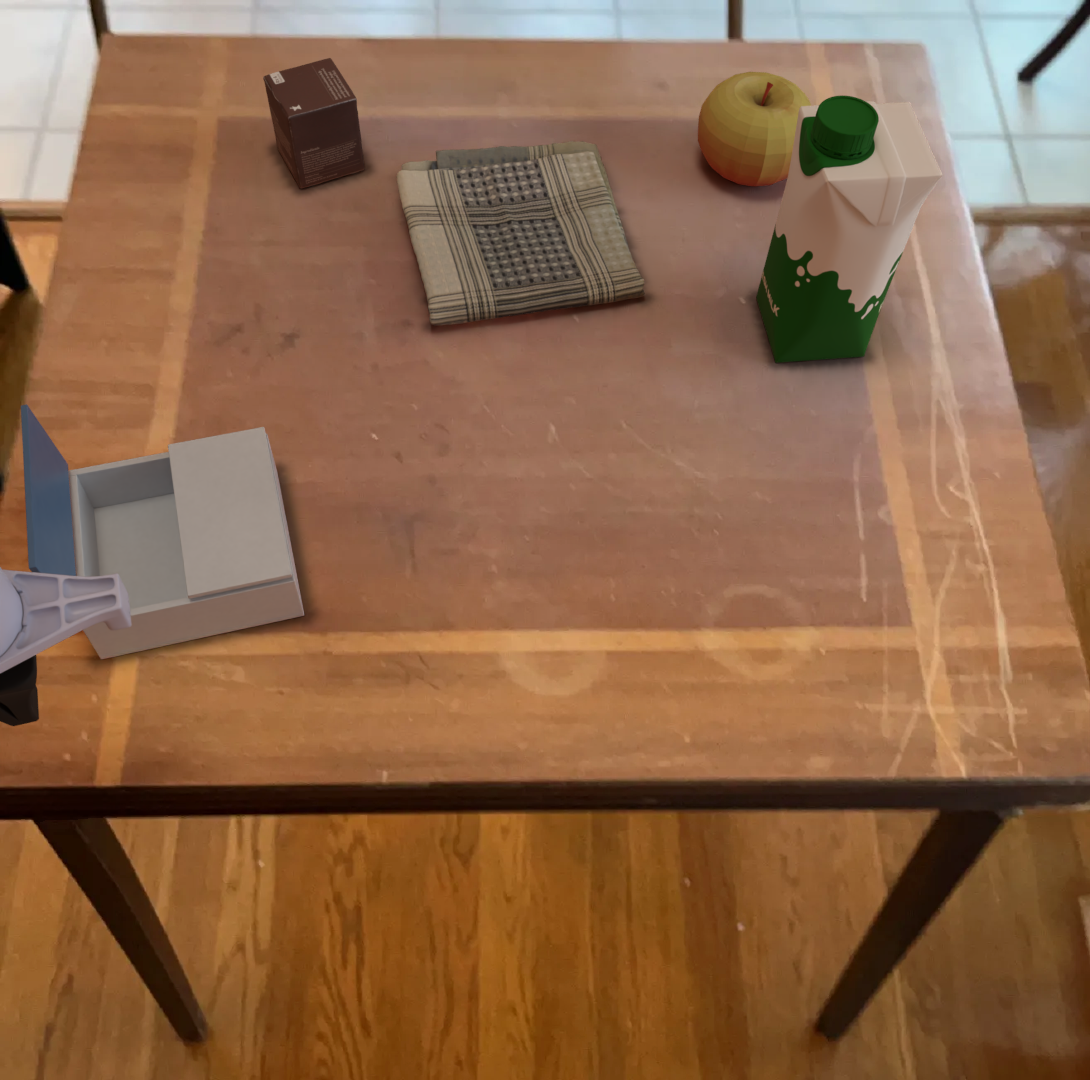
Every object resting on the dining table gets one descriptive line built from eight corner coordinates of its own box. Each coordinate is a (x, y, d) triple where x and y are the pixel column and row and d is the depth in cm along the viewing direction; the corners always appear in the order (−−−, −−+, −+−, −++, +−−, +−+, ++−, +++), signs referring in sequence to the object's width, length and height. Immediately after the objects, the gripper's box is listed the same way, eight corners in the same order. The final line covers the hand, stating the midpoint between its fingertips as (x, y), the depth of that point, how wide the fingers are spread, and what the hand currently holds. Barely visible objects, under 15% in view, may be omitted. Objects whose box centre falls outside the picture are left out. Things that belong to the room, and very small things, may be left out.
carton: (100, 659, 75) (76, 619, 70) (88, 508, 81) (64, 462, 76) (304, 616, 77) (293, 574, 73) (277, 472, 83) (265, 425, 79)
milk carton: (742, 290, 94) (796, 73, 78) (850, 283, 95) (927, 67, 79) (766, 373, 90) (829, 161, 73) (880, 365, 91) (968, 154, 74)
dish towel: (650, 304, 93) (655, 274, 91) (427, 335, 91) (425, 305, 88) (594, 151, 103) (597, 120, 100) (391, 175, 100) (388, 144, 98)
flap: (79, 619, 70) (73, 621, 70) (68, 463, 76) (62, 465, 76) (35, 566, 65) (28, 568, 65) (27, 403, 71) (20, 405, 71)
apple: (802, 134, 105) (823, 55, 98) (806, 209, 100) (828, 131, 93) (693, 125, 105) (707, 45, 99) (691, 198, 100) (705, 120, 93)
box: (366, 172, 100) (358, 99, 94) (299, 191, 99) (286, 118, 93) (341, 129, 103) (331, 55, 97) (275, 147, 102) (261, 73, 95)
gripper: (-273, 695, 47) (-124, 811, 58) (100, 617, 50) (172, 743, 61) (-259, 550, 51) (-121, 686, 62) (88, 484, 53) (159, 627, 65)
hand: (24, 706), depth 62 cm, fingers closed
